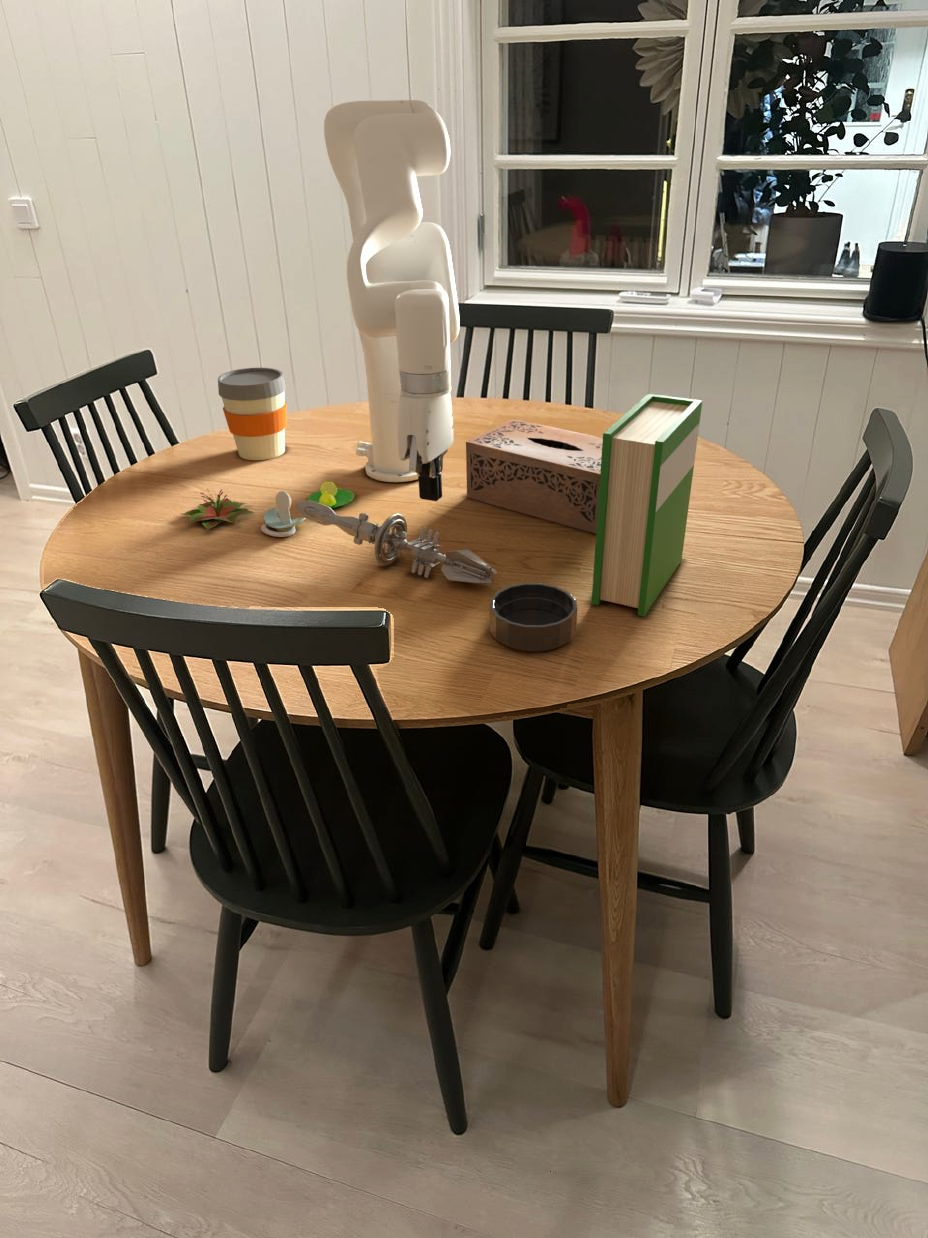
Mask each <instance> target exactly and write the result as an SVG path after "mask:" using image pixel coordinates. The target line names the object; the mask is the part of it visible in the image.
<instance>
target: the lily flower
mask: <svg viewBox="0 0 928 1238" xmlns="http://www.w3.org/2000/svg"><path fill="white" fill-rule="evenodd" d="M206 490H207V492H208V493H209V495H210V496H211V497H210V496H208V495H206V494H205V493H204V492H199V493H200V494H201V498H205V499H207V500H209V501H207V500H205V499H203V502H204V503H199V504H198V505H197V508H194V509H190V510H188V511H186V512H181V515H183V516H186V517H189V519H188V522H187V523H186V526H188V525H191V524H194V523H197V522H200V521H201V525H203V527H204V528H206V530H207V531H209V530H210V529H212V528H214V527H216V526H217V525H219V524H221V523H223V522H224V521H225V522H229V523H232V524H233V525H237V518H238V517H240V516H245V515H249V514H255V513H256V512H254V511H252V510H249V509H248V508H243V507H242V506H244V505H247V504H248V502H241V501H240V502H239V501H232V500H231V499H229V498H228V497H227V496H228V494H225V495H224V496H223V498H222V499H221V496H222V495H223V494H224V491H223V489H220V491H219V492H218V494H216V498H217V500H215V499H214V497H213V496H212V494H211V492H210V491H209V489H208V488H206Z"/></svg>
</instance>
